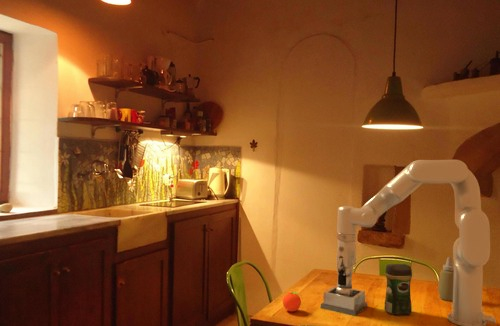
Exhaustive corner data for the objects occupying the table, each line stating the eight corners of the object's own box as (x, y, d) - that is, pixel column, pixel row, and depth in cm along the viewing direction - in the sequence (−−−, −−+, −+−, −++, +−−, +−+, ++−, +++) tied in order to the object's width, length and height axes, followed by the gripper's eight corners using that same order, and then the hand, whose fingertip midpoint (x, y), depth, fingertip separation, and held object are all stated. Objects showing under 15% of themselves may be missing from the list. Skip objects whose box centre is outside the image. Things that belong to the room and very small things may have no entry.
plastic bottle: (353, 302, 164) (355, 250, 164) (335, 300, 165) (337, 249, 165) (352, 297, 170) (354, 247, 170) (335, 295, 171) (337, 246, 171)
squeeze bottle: (436, 300, 181) (438, 257, 181) (438, 295, 188) (439, 254, 188) (458, 303, 177) (459, 260, 177) (458, 298, 184) (459, 257, 184)
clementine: (297, 307, 166) (298, 288, 166) (306, 313, 159) (307, 294, 159) (279, 308, 163) (279, 290, 163) (287, 315, 156) (287, 295, 156)
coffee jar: (403, 308, 168) (404, 261, 168) (414, 315, 160) (416, 266, 160) (380, 309, 166) (382, 262, 166) (391, 316, 158) (392, 266, 158)
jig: (367, 306, 169) (367, 291, 169) (355, 315, 158) (355, 299, 158) (334, 299, 177) (334, 284, 177) (320, 307, 165) (321, 292, 165)
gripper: (347, 241, 158) (346, 290, 158) (362, 236, 173) (361, 280, 173) (329, 239, 162) (327, 286, 162) (345, 233, 177) (343, 277, 177)
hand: (344, 282), depth 167 cm, fingers closed on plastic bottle, 5 cm apart
